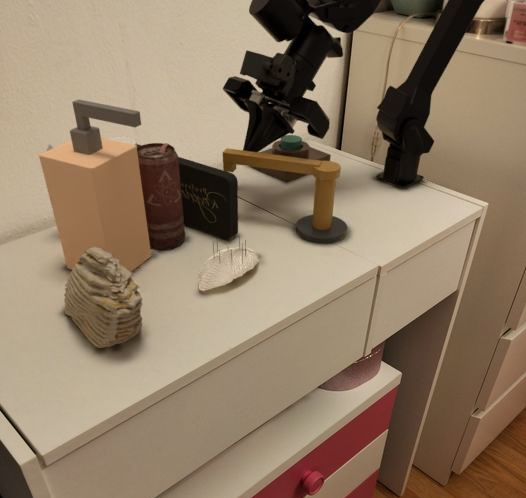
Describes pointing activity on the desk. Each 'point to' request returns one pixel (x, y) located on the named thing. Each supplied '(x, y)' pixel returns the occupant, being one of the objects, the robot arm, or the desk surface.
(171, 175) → the can
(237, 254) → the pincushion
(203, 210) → the nameplate
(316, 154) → the button box
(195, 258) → the desk surface
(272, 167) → the spout
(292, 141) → the button
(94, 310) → the fossil tooth
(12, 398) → the desk surface
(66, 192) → the soap dispenser
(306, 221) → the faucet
